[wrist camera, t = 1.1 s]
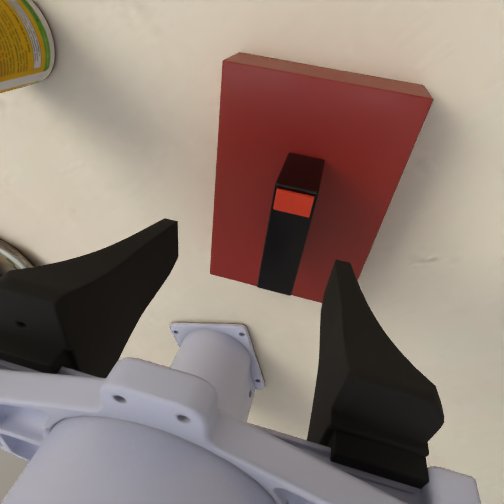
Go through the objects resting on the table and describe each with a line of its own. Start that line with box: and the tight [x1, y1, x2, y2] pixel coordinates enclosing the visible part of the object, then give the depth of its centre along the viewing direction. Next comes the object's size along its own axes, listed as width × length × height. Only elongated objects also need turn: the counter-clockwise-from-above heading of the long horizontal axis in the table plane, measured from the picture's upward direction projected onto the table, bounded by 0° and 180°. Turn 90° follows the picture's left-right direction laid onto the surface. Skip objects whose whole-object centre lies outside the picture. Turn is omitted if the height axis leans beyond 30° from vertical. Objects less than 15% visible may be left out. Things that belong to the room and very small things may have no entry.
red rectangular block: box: [210, 52, 433, 303], centre depth 22 cm, size 14×10×3 cm
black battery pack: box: [257, 153, 325, 295], centre depth 19 cm, size 6×2×4 cm, turn 173°
